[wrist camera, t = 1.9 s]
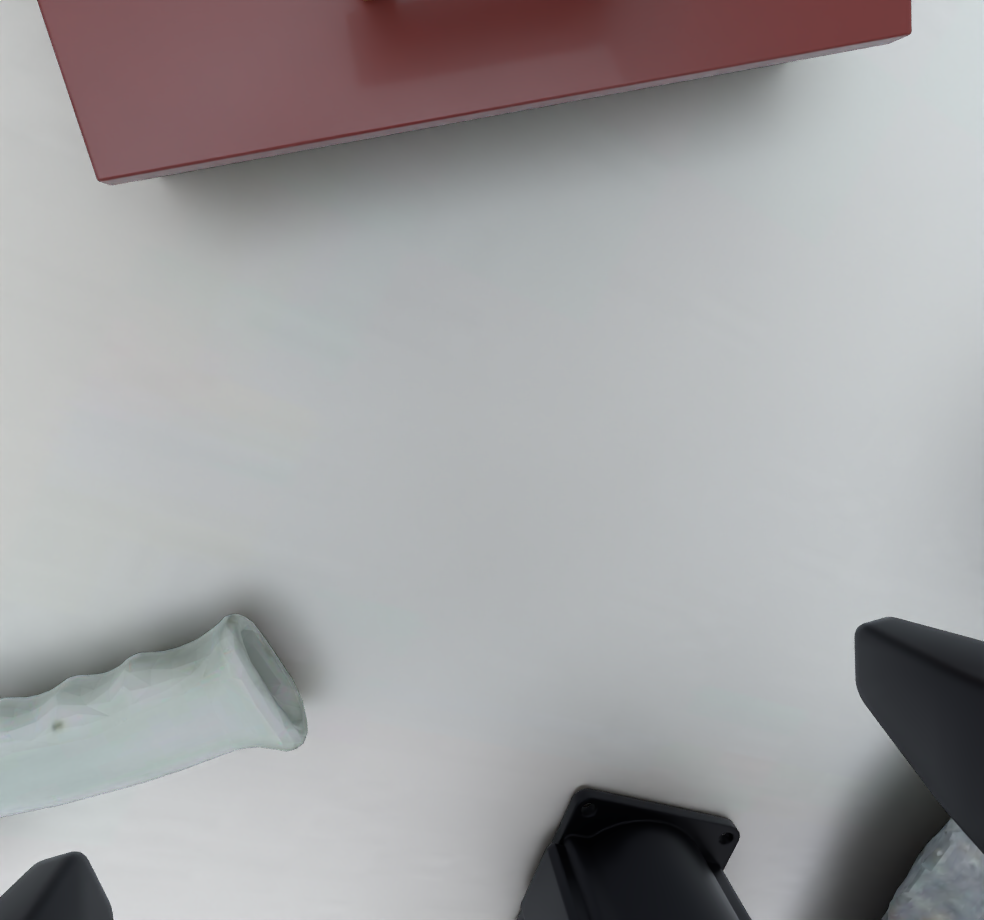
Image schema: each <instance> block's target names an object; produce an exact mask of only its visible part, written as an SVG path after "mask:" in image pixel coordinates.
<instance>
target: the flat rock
mask: <svg viewBox="0 0 984 920" xmlns="http://www.w3.org/2000/svg"><path fill="white" fill-rule="evenodd" d="M881 920H984V854H983V853H982V852H981V851H980V850H979V849H978V848H977V846H976V845H975V844H974V843H973V842H972V841H971V840H970V839H969V838H968V836H967V835H966V834H965V833H964V832H963V831H962V830H961V828H960V827H959V826H958V825H957V824H956V823H955V822H954V820H953V819H952V818H951V819H950V820H949V821H948V822H947V823H946V825H945V826H944V827H943V828H942V829H941V830H940V831H939V832H938V833H937V834H936V835H935V836H934V837H933V838H932V839H931V840H930V841H929V842H928V843H927V844H926V846H925V847H924V849H923V850H922V851H921V852H920V854H919V855H918V857H917V858H916V860H915V862H914V864H913V866H912V867H911V869H910V871H909V873H908V875H907V877H906V878H905V880H904V881H903V882H902V884H901V885H900V886H899V888H898V889H897V891H896V892H895V894H894V897H893V899H892V901H891V902H890V904H889V908H888V910H887V911H886V913H885V914H884V916H883V917H882V919H881Z"/></svg>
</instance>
